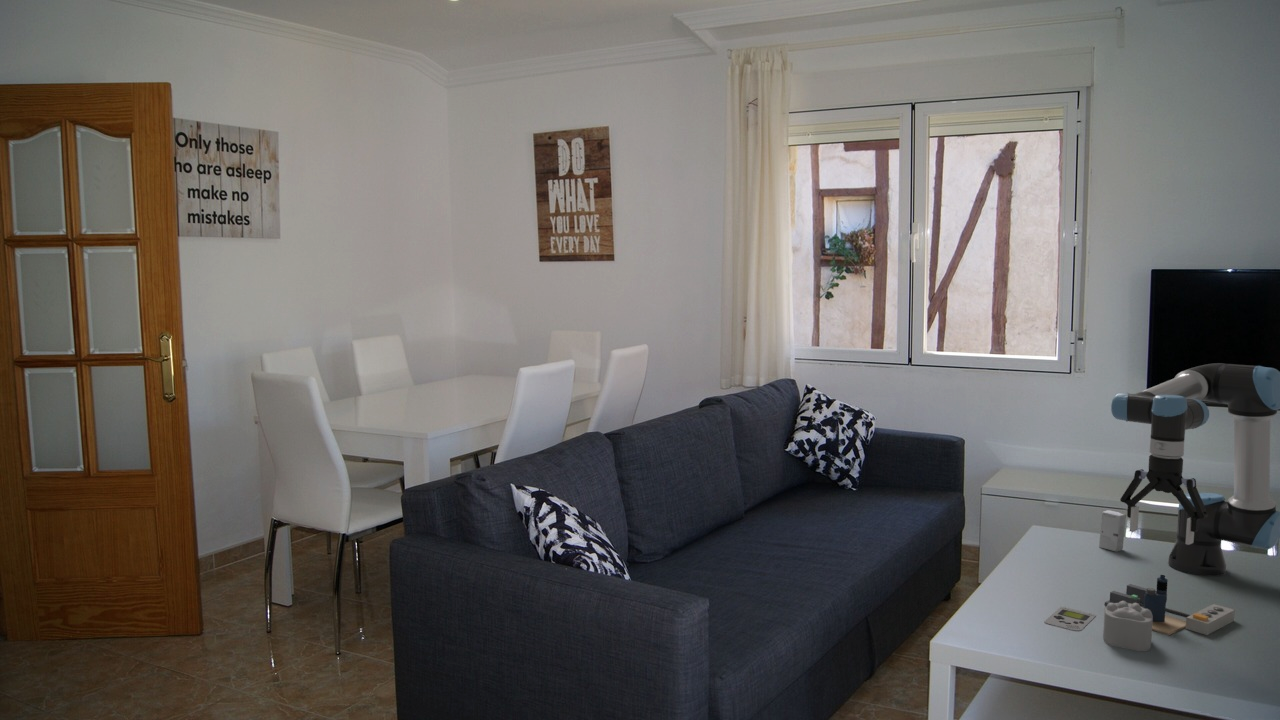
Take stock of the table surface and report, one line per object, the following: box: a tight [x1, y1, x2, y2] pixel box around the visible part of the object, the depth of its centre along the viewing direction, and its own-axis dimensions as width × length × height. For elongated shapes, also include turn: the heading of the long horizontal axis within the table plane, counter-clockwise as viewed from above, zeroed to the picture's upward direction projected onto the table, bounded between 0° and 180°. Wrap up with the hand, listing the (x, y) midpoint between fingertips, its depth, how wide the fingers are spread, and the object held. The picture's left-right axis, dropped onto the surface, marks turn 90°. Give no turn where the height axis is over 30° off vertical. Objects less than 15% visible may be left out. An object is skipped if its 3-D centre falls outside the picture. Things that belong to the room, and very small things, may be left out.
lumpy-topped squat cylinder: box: [1102, 601, 1153, 652], centre depth 222 cm, size 10×13×9 cm
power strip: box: [1185, 603, 1236, 636], centre depth 232 cm, size 16×5×4 cm, turn 126°
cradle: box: [1104, 583, 1191, 618], centre depth 240 cm, size 11×21×5 cm, turn 36°
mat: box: [1152, 614, 1186, 636], centre depth 234 cm, size 12×12×1 cm
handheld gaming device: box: [1044, 606, 1097, 632], centre depth 235 cm, size 9×1×15 cm
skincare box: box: [1098, 509, 1127, 552], centre depth 295 cm, size 6×4×12 cm
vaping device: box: [1143, 574, 1169, 622], centre depth 233 cm, size 3×5×12 cm, turn 81°
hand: (1160, 537), depth 232 cm, fingers open, 13 cm apart
